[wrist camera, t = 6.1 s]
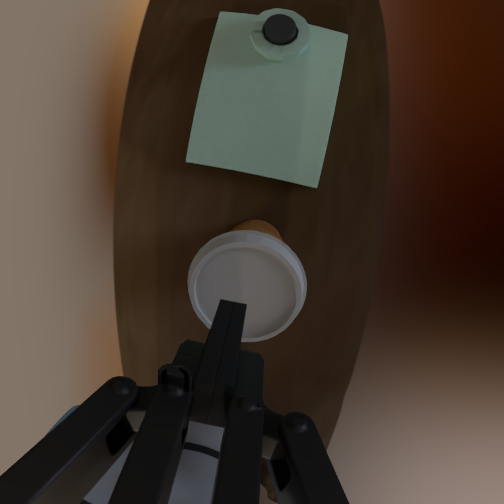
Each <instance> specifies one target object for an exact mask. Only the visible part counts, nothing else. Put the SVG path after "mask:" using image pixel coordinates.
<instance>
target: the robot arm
mask: <svg viewBox="0 0 504 504" xmlns="http://www.w3.org/2000/svg"><path fill="white" fill-rule="evenodd" d="M246 308H247V304H244V303H239V302H233V301H228V300H224V299H220V302H219V305H218V308H217V311H216V314H215V317H214V319H213V322H212V325H211V328H210V331H209V334H208V337H207V340H206V343H200V342H196V341H191V340H186V341H185V342H184V343H182V344H181V345H180V347H179V349H178V351H177V354H176V356H175V359H174V360H173V363H172V364H166V365H164V366H162V367H161V368H160V369H159V370H158V385H156V386H151V387H142V386H137V385H136V383H135V382H134V381H133V380H132V379H130V378H127V377H123V376H117V377H113V378H111V379H110V380H108V381H107V382H106V383H105V384H103V385H102V386H101V387H100V388H99V389H98V390H97V391H96V392H95V393H93V394H92V395H91V396H90V397H89V398H88V399H87V400H85V401H84V402H83V403H82V404H81V405H77V406H74V407H73V408H71V409H70V410H69V411H68V412H67V413H65V414H64V416H62V418H60V420H59V421H58V422H57V423H56V424H55V425H54V426H53V427H52V428H51V430H50V431H49V432H48V433H47V434H46V436H45V437H44V438H43V439H42V440H41V441H39V442H38V443H37V444H36V445H35V446H34V447H33V448H31V449H30V450H29V451H28V452H27V453H26V454H25V455H24V456H23V457H22V458H20V459H19V460H18V461H17V462H16V463H15V464H13V465H12V466H11V467H10V468H9V469H8V470H7V471H6V472H4V473H3V474H2V475H1V476H0V504H259V494H260V480H261V462H262V457H265V458H266V461H267V465H268V469H269V472H270V476H271V480H272V483H273V487H274V490H275V494H276V497H277V501H278V504H349V502H348V500H347V497H346V495H345V493H344V491H343V488H342V486H341V484H340V482H339V479H338V477H337V475H336V472H335V470H334V468H333V466H332V463H331V461H330V459H329V457H328V454H327V452H326V449H325V447H324V445H323V443H322V440H321V438H320V436H319V433H318V431H317V429H316V426H315V424H314V422H313V421H312V419H311V418H310V417H308V416H307V415H305V414H303V413H300V412H292V413H288V414H286V415H285V416H282V415H280V414H277V413H275V412H273V411H271V410H270V409H268V408H267V407H266V406H265V404H264V402H263V399H262V392H263V369H264V360H263V358H262V357H261V355H260V354H259V353H254V352H248V351H243V350H240V346H241V340H242V334H243V327H244V321H245V315H246Z"/></svg>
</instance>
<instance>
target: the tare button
mask: <svg viewBox="0 0 504 504" xmlns="http://www.w3.org/2000/svg"><path fill="white" fill-rule="evenodd" d="M264 27H265V35H266V37H267V38H268V39H269V40H270V41H271V42H273V43H276V44H285V43H288V42H290V41H291V40H292V39H293V38H294V36H295V32H296V23H295V21H294V20H293V19H292V18H291V17H289V16H287V15H284V14H275V15H272V16H270V17H269V18H268V19H267V20H266V21H265V25H264Z"/></svg>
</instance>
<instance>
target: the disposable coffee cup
mask: <svg viewBox="0 0 504 504" xmlns="http://www.w3.org/2000/svg"><path fill="white" fill-rule="evenodd" d="M187 282H188V292H189V295H190V299H191V303H192V306H193V309H194V310H195V312H196V314H197V316H198V317H199V318H200V320H201V321H202V322H203V323H204V324H205V325H206V326H207V327H208V328H209V329H210V328H211V325H212V322H213V319H214V317H215V314H216V311H217V308H218V305H219V302H220V299H224V300H228V301H233V302H239V303H244V304H247V308H246V315H245V321H244V327H243V334H242V340H241V342H257V341H261V340H266V339H269V338H271V337H274V336H276V335H277V334H279V333H280V332H282V331H283V330H285V329H286V328H287V327H288V326H289V325H290V324H291V323H292V321H293V320H294V319H295V317H296V316H297V315H298V314H299V312H300V310H301V308H302V307H303V304H304V301H305V297H306V291H307V282H306V276H305V272H304V269H303V266H302V264H301V262H300V260H299V259H298V257H297V256H296V254H295V253H294V252H293V251H292V250H291V249H290V248H289V247H288V246H287V245H286V244H285V243H284V241H283V239H282V238H281V236H280V234H279V232H278V231H277V230H276V229H275V228H274V227H273V226H272V225H271V224H269V223H267V222H265V221H262V220H255V219H252V220H246V221H244V222H241V223H240V224H238V225H237V226H236V227H234V228H233V229H232V230H230V231H229V232H227V233H224V234H222V235H219V236H217V237H215V238H213V239H211V240H210V241H209V242H208V243H207V244H205V245H204V246H203V247H202V248H201V249H200V250H199V251H198V253H197V254H196V256H195V257H194V259H193V261H192V263H191V265H190V268H189V273H188V280H187Z"/></svg>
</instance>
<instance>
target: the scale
mask: <svg viewBox="0 0 504 504" xmlns="http://www.w3.org/2000/svg"><path fill="white" fill-rule="evenodd" d="M275 14H284V15H287V16H289V17H291V18H292V19H293V20H294V21H295V23H296V32H295V36H294V38H293V39H292V40H291V41H290V42H288V43H285V44H276V43H273V42H271V41H270V40H269V39H268V38H267V37H266V35H265V27H264V25H265V21H266V20H267V19H268V18H269V17H270V16H272V15H275ZM347 38H348V35H347V34H344V33H340V32H337V31H333V30H330V29H326V28H322V27H318V26H314V25H310V24H307V22H306V20H305V19H304V18H303V17H301V16H300V15H298V14H297V13H296V12H294V11H291V10H286V9H280V8H275V9H271V10H267V11H263V12H262V13H261V14H260V15H252V14H244V13H233V12H220V14H219V17H218V21H217V24H216V28H215V31H214V35H213V38H212V42H211V46H210V50H209V53H208V57H207V61H206V65H205V69H204V74H203V78H202V82H201V86H200V91H199V95H198V100H197V105H196V109H195V114H194V119H193V124H192V129H191V134H190V140H189V145H188V151H187V156H186V162H190V163H196V164H202V165H208V166H213V167H219V168H224V169H230V170H235V171H240V172H245V173H250V174H255V175H260V176H265V177H270V178H274V179H279V180H283V181H288V182H292V183H296V184H301V185H305V186H309V187H313V188H317V186H318V182H319V178H320V174H321V169H322V165H323V160H324V156H325V152H326V147H327V143H328V138H329V133H330V129H331V124H332V119H333V114H334V109H335V104H336V99H337V94H338V89H339V84H340V78H341V73H342V68H343V62H344V56H345V50H346V45H347Z"/></svg>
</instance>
